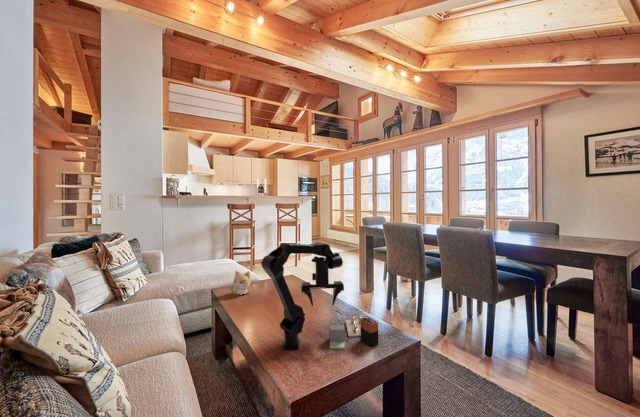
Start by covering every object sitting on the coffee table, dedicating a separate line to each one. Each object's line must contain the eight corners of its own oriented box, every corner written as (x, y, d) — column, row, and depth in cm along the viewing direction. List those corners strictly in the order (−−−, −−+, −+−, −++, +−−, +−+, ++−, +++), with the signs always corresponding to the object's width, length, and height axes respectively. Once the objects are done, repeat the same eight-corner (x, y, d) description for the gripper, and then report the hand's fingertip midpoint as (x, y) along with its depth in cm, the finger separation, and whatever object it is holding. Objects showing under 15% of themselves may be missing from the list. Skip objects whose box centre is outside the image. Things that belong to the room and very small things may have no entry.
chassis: (371, 336, 115) (371, 328, 115) (348, 336, 115) (348, 328, 115) (366, 321, 129) (366, 314, 129) (345, 322, 129) (345, 314, 129)
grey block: (344, 349, 106) (344, 334, 106) (329, 349, 106) (329, 334, 106) (344, 334, 118) (344, 321, 118) (330, 334, 118) (330, 320, 118)
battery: (368, 337, 114) (367, 314, 114) (379, 344, 108) (378, 320, 108) (360, 339, 112) (359, 316, 112) (370, 347, 106) (370, 322, 106)
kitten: (226, 296, 169) (226, 272, 169) (236, 290, 179) (235, 268, 179) (247, 297, 165) (246, 273, 165) (256, 292, 175) (255, 269, 174)
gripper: (340, 266, 128) (341, 298, 128) (301, 267, 127) (302, 299, 127) (343, 272, 117) (344, 307, 117) (301, 273, 116) (301, 309, 116)
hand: (322, 305), depth 119 cm, fingers open, 9 cm apart
